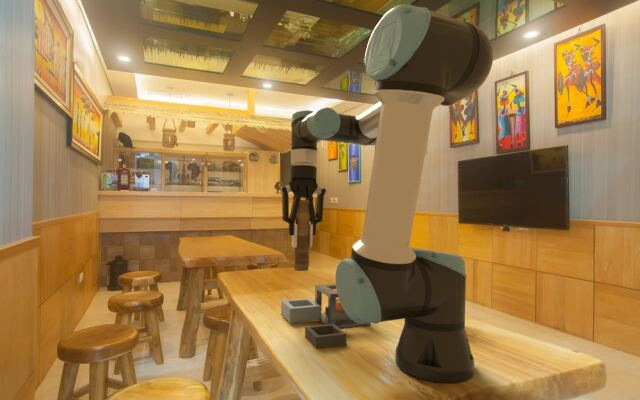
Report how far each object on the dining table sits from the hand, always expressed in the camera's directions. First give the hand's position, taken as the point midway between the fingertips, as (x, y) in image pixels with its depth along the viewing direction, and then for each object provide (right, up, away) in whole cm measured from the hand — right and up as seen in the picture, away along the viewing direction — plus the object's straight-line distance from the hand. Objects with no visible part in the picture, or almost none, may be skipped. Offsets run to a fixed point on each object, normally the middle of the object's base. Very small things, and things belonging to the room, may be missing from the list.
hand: (302, 246), depth 102 cm
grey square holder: (0, -20, -1) cm, 20 cm away
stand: (+6, -20, -18) cm, 28 cm away
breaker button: (+11, -19, -3) cm, 22 cm away
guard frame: (+11, -20, -3) cm, 23 cm away
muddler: (0, -7, 0) cm, 7 cm away
